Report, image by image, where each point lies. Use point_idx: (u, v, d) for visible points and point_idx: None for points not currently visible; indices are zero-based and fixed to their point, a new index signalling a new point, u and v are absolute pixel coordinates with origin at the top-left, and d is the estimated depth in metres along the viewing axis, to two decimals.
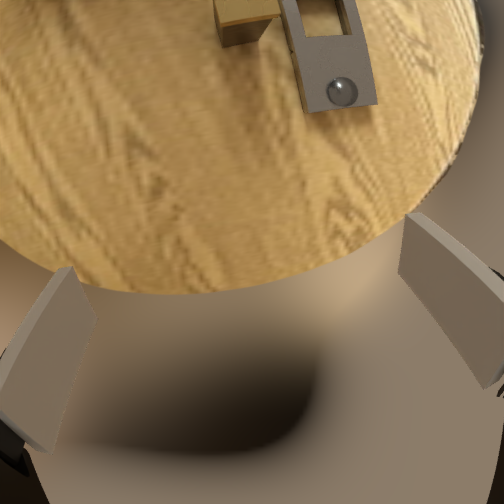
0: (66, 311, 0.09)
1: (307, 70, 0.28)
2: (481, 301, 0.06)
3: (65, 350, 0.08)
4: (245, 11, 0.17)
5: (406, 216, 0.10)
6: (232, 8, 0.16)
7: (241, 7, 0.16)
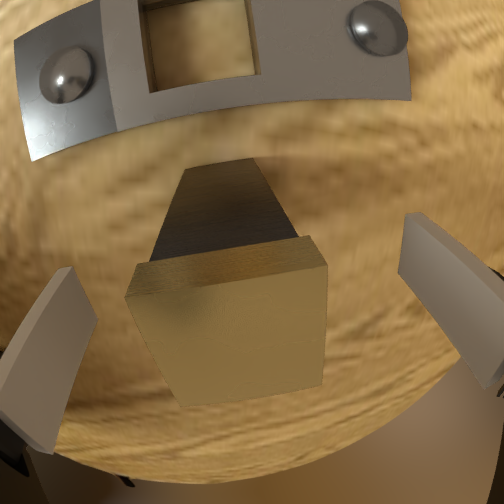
0: (66, 311, 0.09)
1: (336, 84, 0.14)
2: (481, 301, 0.06)
3: (65, 350, 0.08)
4: (303, 349, 0.08)
5: (406, 216, 0.10)
6: (287, 372, 0.08)
7: (288, 357, 0.08)
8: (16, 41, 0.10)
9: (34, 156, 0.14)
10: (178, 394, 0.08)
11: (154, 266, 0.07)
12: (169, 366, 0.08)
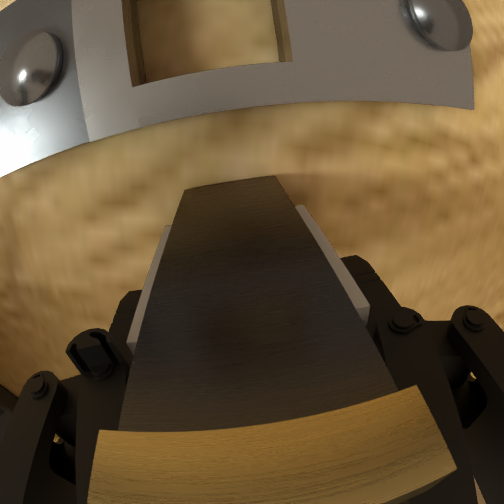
0: None
1: (392, 81, 0.09)
2: None
3: None
4: None
5: None
6: None
7: None
8: None
9: None
10: None
11: (128, 448, 0.03)
12: None
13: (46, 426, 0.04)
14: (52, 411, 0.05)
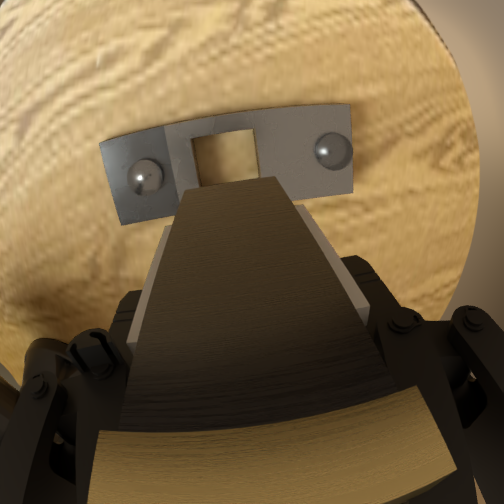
0: None
1: (305, 190, 0.28)
2: None
3: None
4: None
5: None
6: None
7: None
8: (100, 143, 0.25)
9: (123, 222, 0.29)
10: None
11: (128, 449, 0.03)
12: None
13: (46, 426, 0.04)
14: (52, 411, 0.05)
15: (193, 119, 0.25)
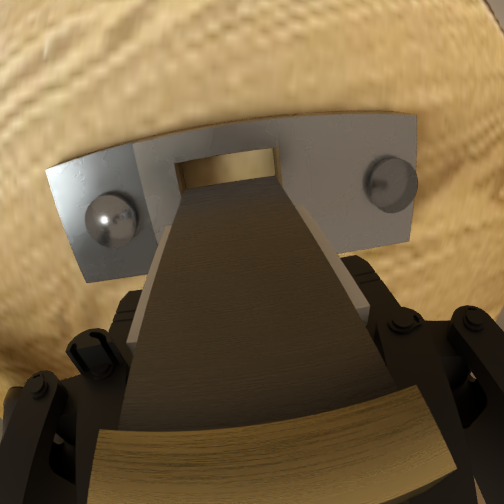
0: None
1: (347, 240, 0.19)
2: None
3: None
4: None
5: None
6: None
7: None
8: (47, 169, 0.16)
9: (88, 279, 0.20)
10: None
11: (128, 448, 0.03)
12: None
13: (46, 426, 0.04)
14: (52, 411, 0.05)
15: (179, 131, 0.16)
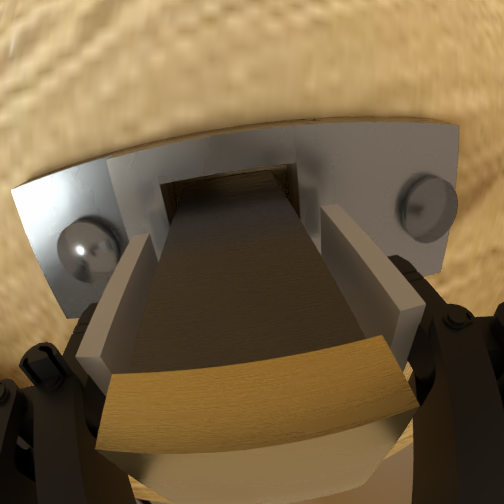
0: (147, 274, 0.11)
1: None
2: (369, 287, 0.08)
3: None
4: (352, 473, 0.04)
5: (320, 207, 0.12)
6: (326, 488, 0.05)
7: (331, 480, 0.05)
8: (14, 189, 0.12)
9: (69, 315, 0.16)
10: None
11: (137, 386, 0.04)
12: (172, 494, 0.04)
13: (9, 429, 0.04)
14: (14, 415, 0.05)
15: (167, 140, 0.12)
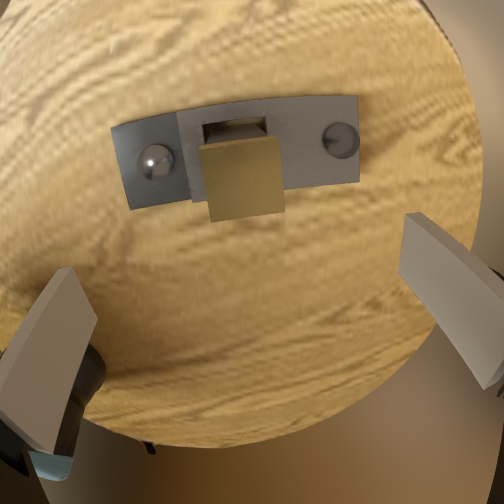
0: (66, 311, 0.09)
1: (313, 178, 0.28)
2: (481, 301, 0.06)
3: (65, 350, 0.08)
4: (272, 182, 0.18)
5: (406, 215, 0.10)
6: (265, 197, 0.18)
7: (265, 186, 0.18)
8: (111, 128, 0.25)
9: (132, 207, 0.29)
10: (211, 210, 0.18)
11: (208, 145, 0.17)
12: (210, 189, 0.17)
13: None
14: None
15: None
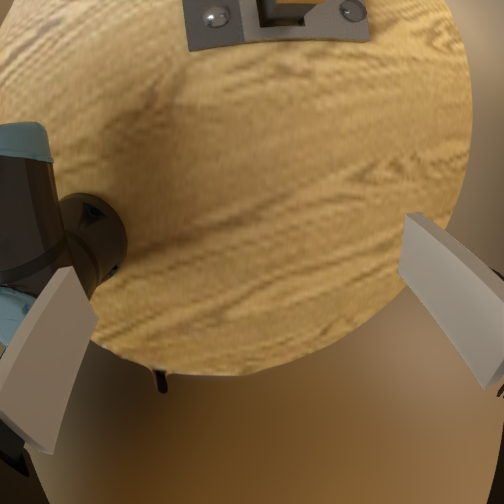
0: (66, 311, 0.09)
1: (335, 32, 0.30)
2: (481, 301, 0.06)
3: (65, 350, 0.08)
4: None
5: (405, 216, 0.10)
6: None
7: None
8: None
9: (191, 48, 0.30)
10: None
11: None
12: None
13: None
14: None
15: None
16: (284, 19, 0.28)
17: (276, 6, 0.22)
